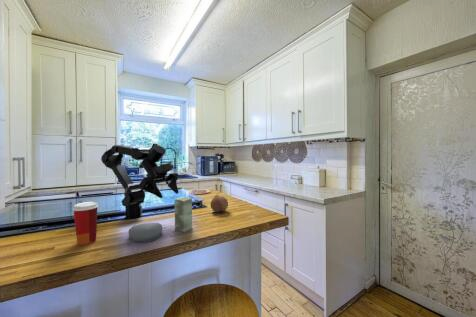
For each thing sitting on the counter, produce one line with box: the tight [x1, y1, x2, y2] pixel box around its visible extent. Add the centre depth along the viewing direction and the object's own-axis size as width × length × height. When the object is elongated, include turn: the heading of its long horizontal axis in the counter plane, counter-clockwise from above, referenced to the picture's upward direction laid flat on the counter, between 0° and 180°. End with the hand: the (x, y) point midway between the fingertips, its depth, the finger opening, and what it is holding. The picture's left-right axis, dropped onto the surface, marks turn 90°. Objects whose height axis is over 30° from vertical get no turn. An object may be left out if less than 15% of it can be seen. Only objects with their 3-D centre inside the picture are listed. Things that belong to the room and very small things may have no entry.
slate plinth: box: [128, 222, 163, 244], centre depth 82 cm, size 12×12×3 cm
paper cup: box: [71, 201, 99, 246], centre depth 76 cm, size 8×8×14 cm
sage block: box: [174, 196, 193, 233], centre depth 88 cm, size 5×5×13 cm
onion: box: [210, 194, 229, 214], centre depth 112 cm, size 10×9×10 cm
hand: (170, 195), depth 92 cm, fingers open, 9 cm apart
